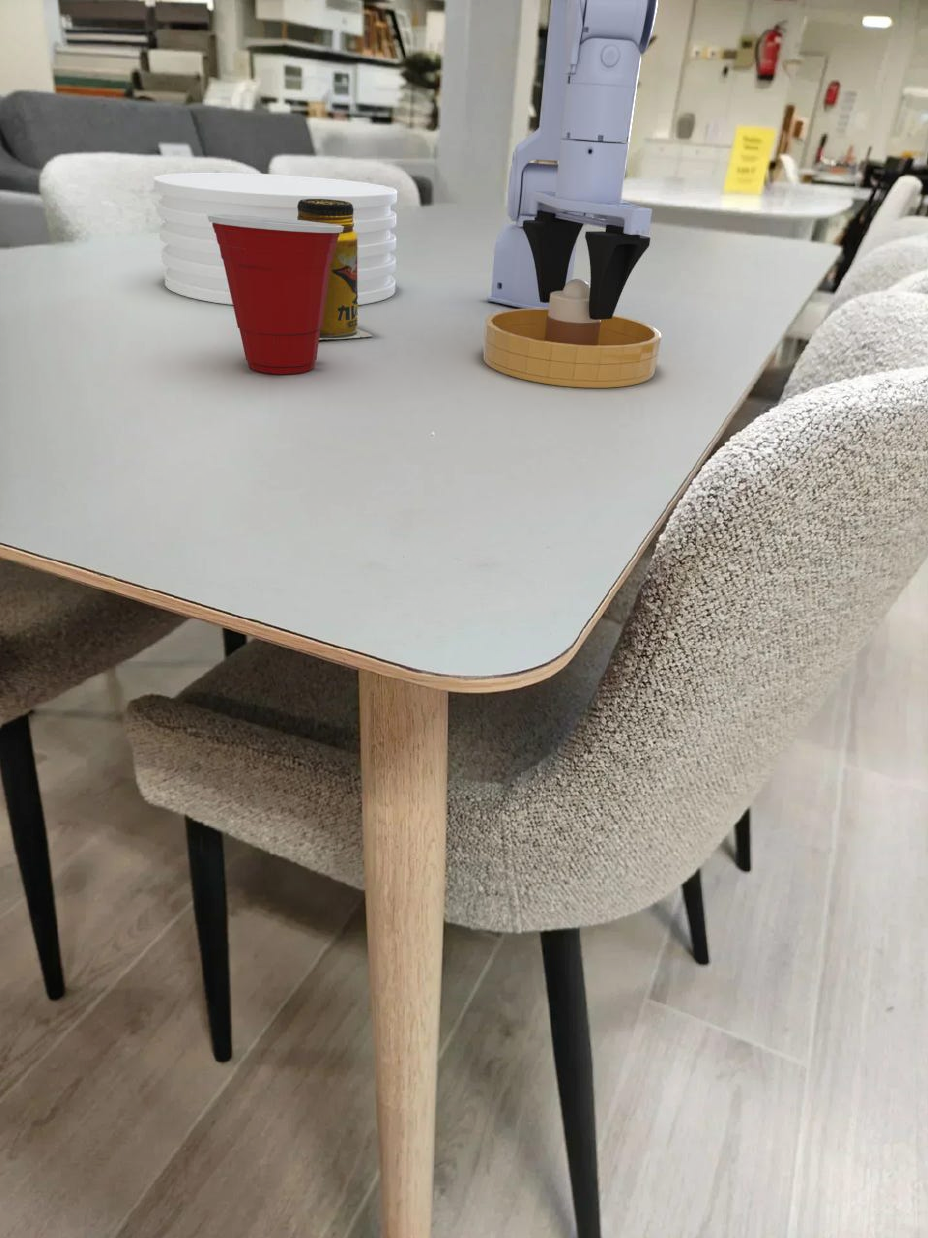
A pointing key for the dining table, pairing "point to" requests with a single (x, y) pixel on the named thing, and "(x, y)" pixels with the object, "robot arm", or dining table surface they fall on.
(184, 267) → the plate stack
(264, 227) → the plastic cup
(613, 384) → the bowl
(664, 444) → the dining table surface
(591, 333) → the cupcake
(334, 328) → the condiment
